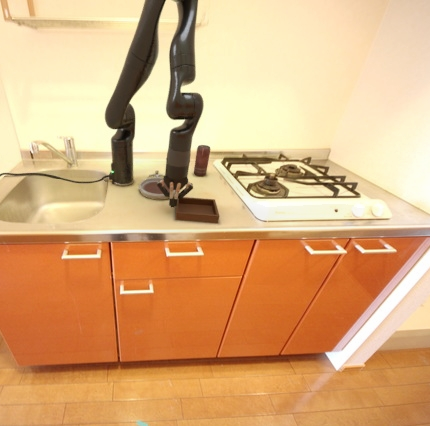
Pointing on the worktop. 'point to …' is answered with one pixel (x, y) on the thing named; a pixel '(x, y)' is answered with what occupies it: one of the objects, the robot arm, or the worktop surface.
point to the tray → (197, 210)
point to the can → (201, 160)
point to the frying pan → (153, 187)
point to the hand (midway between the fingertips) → (172, 206)
